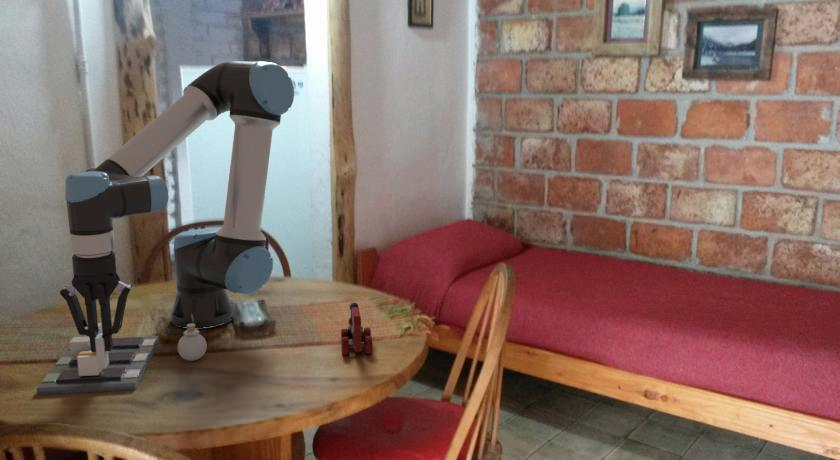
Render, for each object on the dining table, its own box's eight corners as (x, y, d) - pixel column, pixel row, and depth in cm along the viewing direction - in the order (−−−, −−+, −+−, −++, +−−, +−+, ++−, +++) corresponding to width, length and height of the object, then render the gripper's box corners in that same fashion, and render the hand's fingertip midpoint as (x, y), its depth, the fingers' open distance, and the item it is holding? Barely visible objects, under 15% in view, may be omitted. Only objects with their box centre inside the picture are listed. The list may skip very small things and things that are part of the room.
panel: (159, 342, 157) (157, 316, 155) (135, 389, 134) (133, 360, 133) (75, 345, 154) (73, 319, 152) (37, 394, 131) (33, 364, 129)
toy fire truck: (369, 338, 163) (369, 297, 160) (373, 359, 151) (373, 315, 148) (340, 339, 162) (340, 297, 159) (341, 360, 150) (341, 316, 147)
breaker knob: (102, 369, 137) (100, 349, 136) (98, 375, 135) (96, 355, 134) (83, 369, 137) (81, 350, 136) (78, 376, 134) (76, 355, 133)
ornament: (176, 366, 145) (173, 322, 142) (181, 351, 152) (178, 309, 150) (205, 364, 146) (203, 321, 144) (209, 350, 153) (207, 308, 151)
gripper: (133, 246, 135) (141, 356, 140) (63, 248, 133) (74, 359, 138) (124, 257, 128) (133, 372, 133) (50, 258, 125) (62, 375, 131)
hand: (103, 365), depth 136 cm, fingers closed
